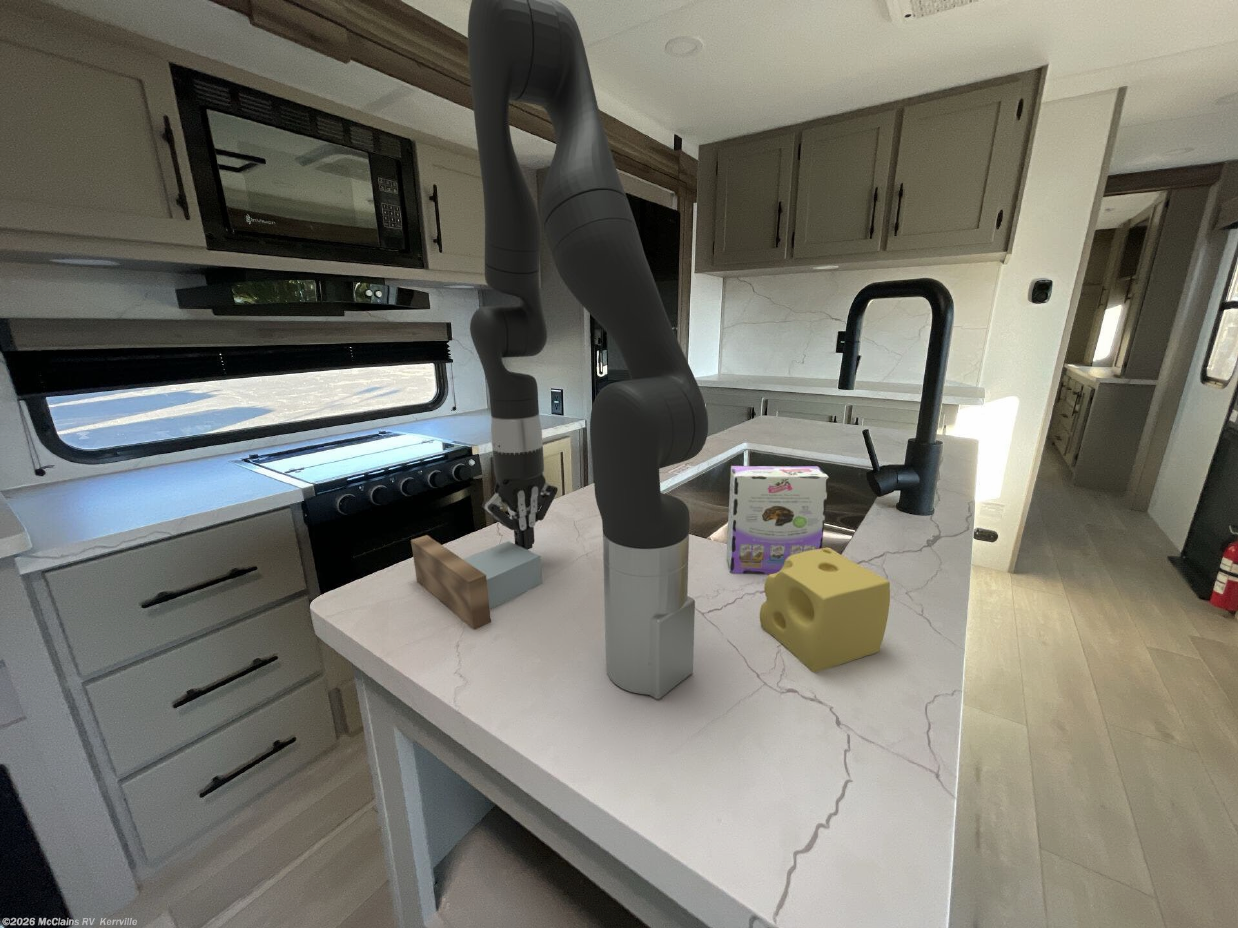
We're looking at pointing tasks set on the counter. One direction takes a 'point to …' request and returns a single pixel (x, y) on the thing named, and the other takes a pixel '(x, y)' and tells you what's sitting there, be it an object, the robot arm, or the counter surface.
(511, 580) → the grey block
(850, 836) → the counter surface
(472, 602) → the walnut board
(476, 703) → the counter surface
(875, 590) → the cheese
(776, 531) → the candy box
